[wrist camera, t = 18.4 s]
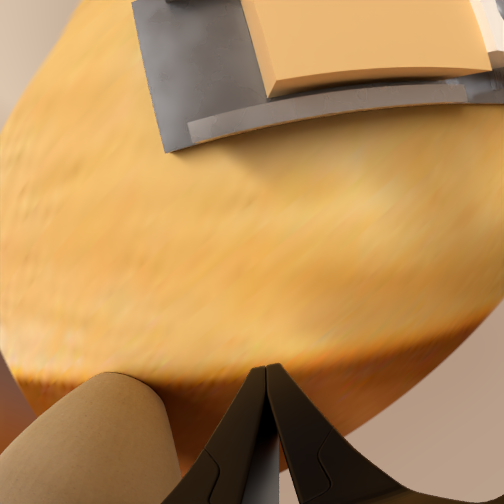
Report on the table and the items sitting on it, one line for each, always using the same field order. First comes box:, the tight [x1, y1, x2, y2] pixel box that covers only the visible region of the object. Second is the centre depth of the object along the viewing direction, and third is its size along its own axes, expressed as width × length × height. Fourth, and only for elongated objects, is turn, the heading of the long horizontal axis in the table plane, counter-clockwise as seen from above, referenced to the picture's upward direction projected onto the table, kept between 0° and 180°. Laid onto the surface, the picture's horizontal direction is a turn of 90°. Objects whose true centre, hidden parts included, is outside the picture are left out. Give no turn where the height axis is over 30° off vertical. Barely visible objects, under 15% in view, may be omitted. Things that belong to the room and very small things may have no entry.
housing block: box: [469, 0, 504, 69], centre depth 11 cm, size 5×5×6 cm
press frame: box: [132, 0, 504, 153], centre depth 11 cm, size 25×10×7 cm, turn 103°
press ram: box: [240, 0, 492, 98], centre depth 11 cm, size 11×7×5 cm, turn 103°
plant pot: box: [0, 373, 182, 504], centre depth 16 cm, size 15×15×16 cm
